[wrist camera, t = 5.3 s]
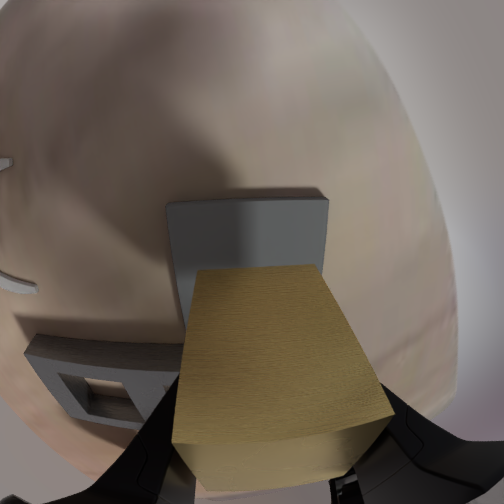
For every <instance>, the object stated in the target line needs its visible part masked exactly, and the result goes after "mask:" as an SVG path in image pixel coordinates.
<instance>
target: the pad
mask: <svg viewBox="0 0 504 504" xmlns="http://www.w3.org/2000/svg"><path fill="white" fill-rule="evenodd" d="M165 207H166V215H167V223H168V231H169V238H170V245H171V252H172V258H173V264H174V270H175V276H176V282H177V288H178V293H179V298H180V304H181V309H182V314H183V318H184V323H185V328H186V330H187V324H188V319H189V313H190V307H191V302H192V296H193V291H194V286H195V280H196V275H197V270H207V269H228V268H248V267H267V266H285V265H303V264H315V266H316V267H317V269H318V271H319V272H320V274H321V276H322V270H323V261H324V252H325V243H326V232H327V221H328V208H329V200H328V199H327V198H326V197H272V198H242V199H220V200H203V201H188V202H174V203H168V204H167V205H166V206H165Z"/></svg>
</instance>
